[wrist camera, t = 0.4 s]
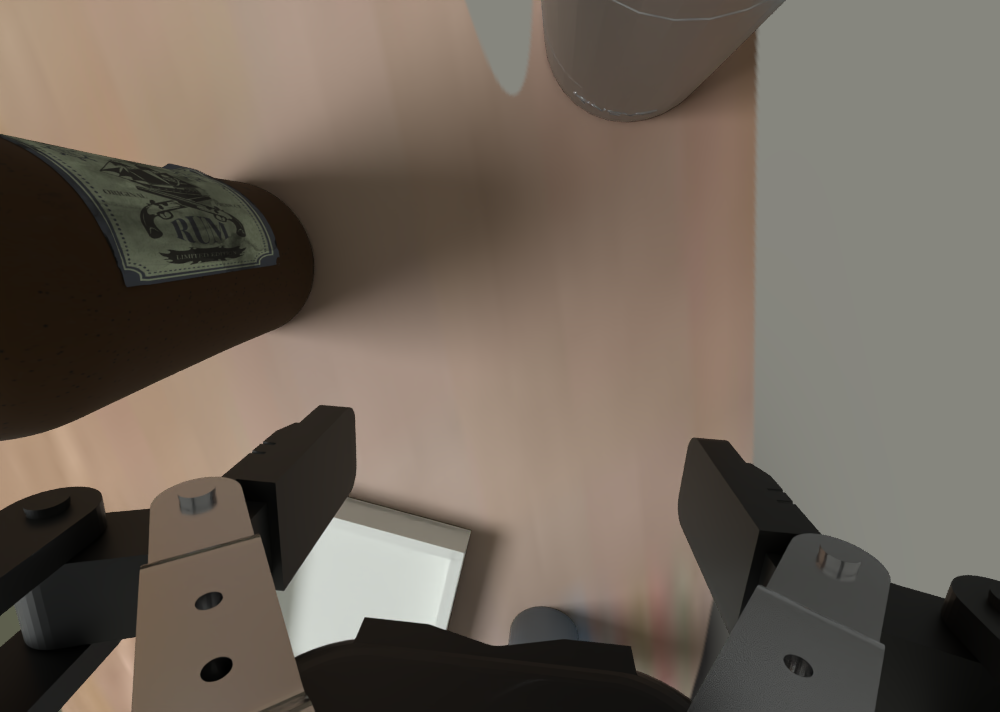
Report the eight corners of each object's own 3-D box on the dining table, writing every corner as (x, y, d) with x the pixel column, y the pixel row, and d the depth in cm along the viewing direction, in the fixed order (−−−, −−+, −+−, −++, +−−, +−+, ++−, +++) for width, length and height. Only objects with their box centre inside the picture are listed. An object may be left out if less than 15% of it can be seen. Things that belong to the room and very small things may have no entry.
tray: (283, 479, 36) (262, 498, 33) (471, 530, 35) (464, 553, 33) (263, 651, 40) (244, 678, 38) (430, 700, 39) (421, 730, 37)
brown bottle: (260, 372, 34) (-482, 739, 10) (138, 258, 33) (-1032, 357, 9) (358, 260, 31) (-341, 390, 7) (229, 132, 30) (-1131, -238, 6)
